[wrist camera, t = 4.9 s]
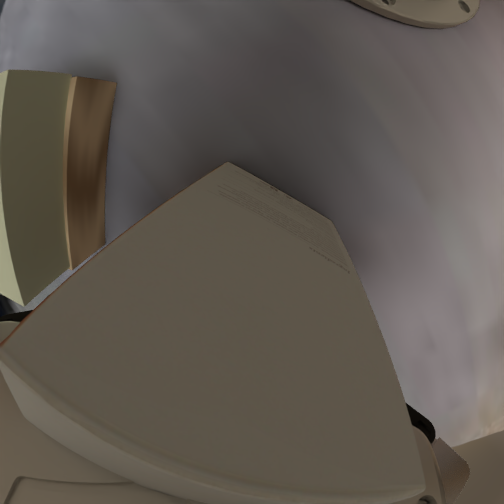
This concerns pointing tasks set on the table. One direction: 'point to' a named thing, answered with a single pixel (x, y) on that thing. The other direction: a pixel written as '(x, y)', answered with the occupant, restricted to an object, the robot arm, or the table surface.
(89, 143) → the tower base block
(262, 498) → the small box
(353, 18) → the table surface
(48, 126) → the tower top block
